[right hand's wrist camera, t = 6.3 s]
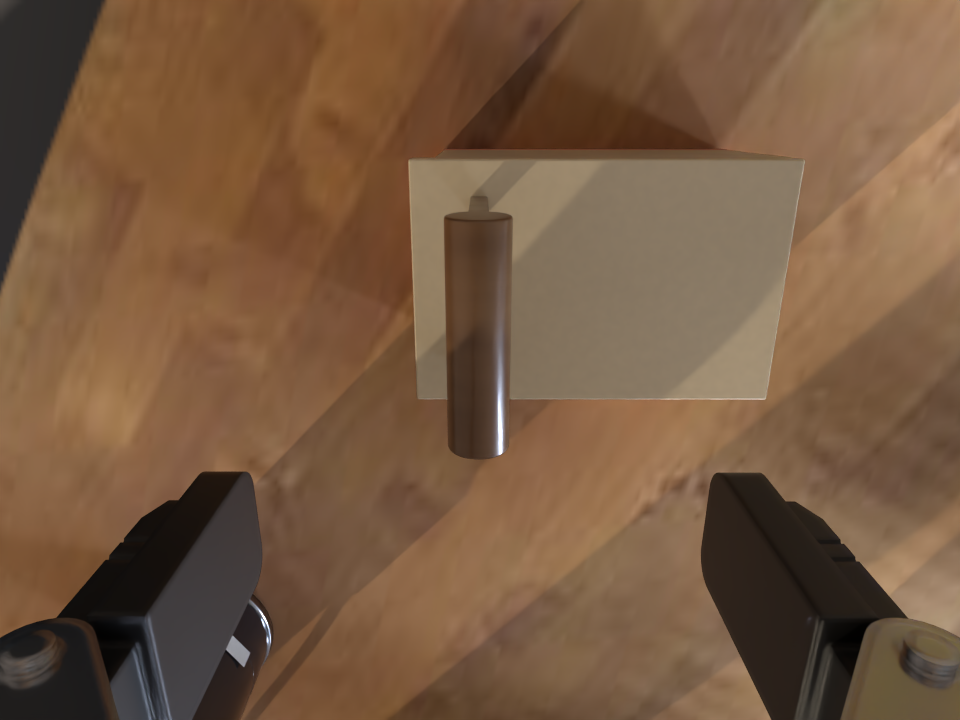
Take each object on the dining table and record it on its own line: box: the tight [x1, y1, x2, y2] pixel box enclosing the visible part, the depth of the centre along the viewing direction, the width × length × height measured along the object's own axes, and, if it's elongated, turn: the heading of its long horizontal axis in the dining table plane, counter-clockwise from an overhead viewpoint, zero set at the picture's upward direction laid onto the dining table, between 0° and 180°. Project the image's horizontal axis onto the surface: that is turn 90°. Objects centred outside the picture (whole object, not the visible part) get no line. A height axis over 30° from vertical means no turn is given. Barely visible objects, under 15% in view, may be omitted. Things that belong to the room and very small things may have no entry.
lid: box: [408, 158, 805, 459], centre depth 24 cm, size 16×10×9 cm, turn 90°
